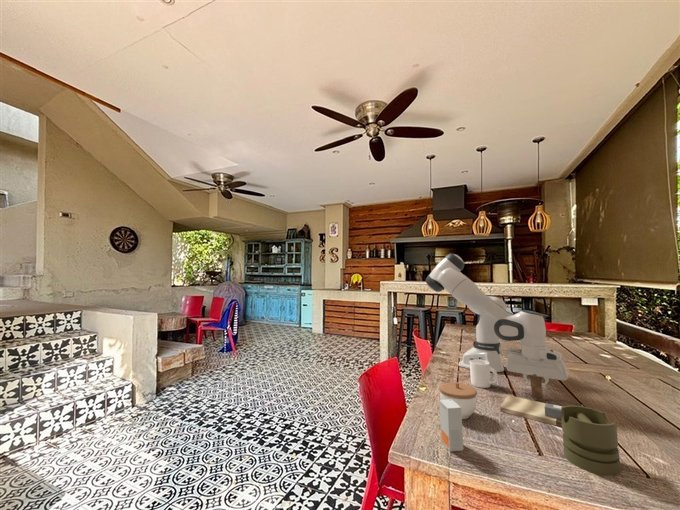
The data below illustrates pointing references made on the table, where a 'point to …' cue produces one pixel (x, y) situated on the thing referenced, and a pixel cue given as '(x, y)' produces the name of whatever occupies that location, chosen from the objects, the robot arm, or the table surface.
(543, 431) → the table surface
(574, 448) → the piston
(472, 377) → the mug
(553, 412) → the block
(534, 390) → the peg
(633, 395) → the table surface
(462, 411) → the lidded bowl
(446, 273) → the robot arm
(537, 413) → the plank
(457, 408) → the skincare box
